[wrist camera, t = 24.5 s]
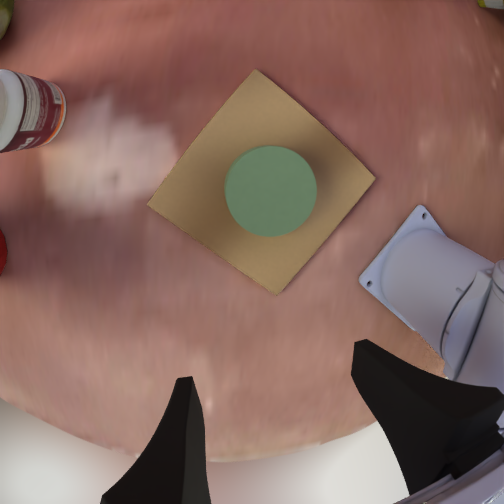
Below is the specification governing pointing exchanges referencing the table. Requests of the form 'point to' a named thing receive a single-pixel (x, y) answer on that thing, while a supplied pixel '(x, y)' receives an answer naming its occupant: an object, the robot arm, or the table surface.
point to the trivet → (223, 155)
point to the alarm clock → (491, 3)
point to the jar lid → (270, 190)
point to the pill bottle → (28, 111)
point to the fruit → (5, 15)
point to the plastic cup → (2, 252)
